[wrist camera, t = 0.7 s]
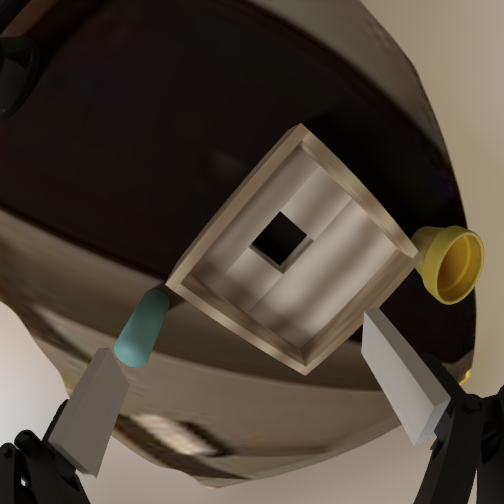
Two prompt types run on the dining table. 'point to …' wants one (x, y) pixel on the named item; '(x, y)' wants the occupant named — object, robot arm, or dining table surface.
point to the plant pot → (449, 261)
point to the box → (296, 255)
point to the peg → (142, 329)
